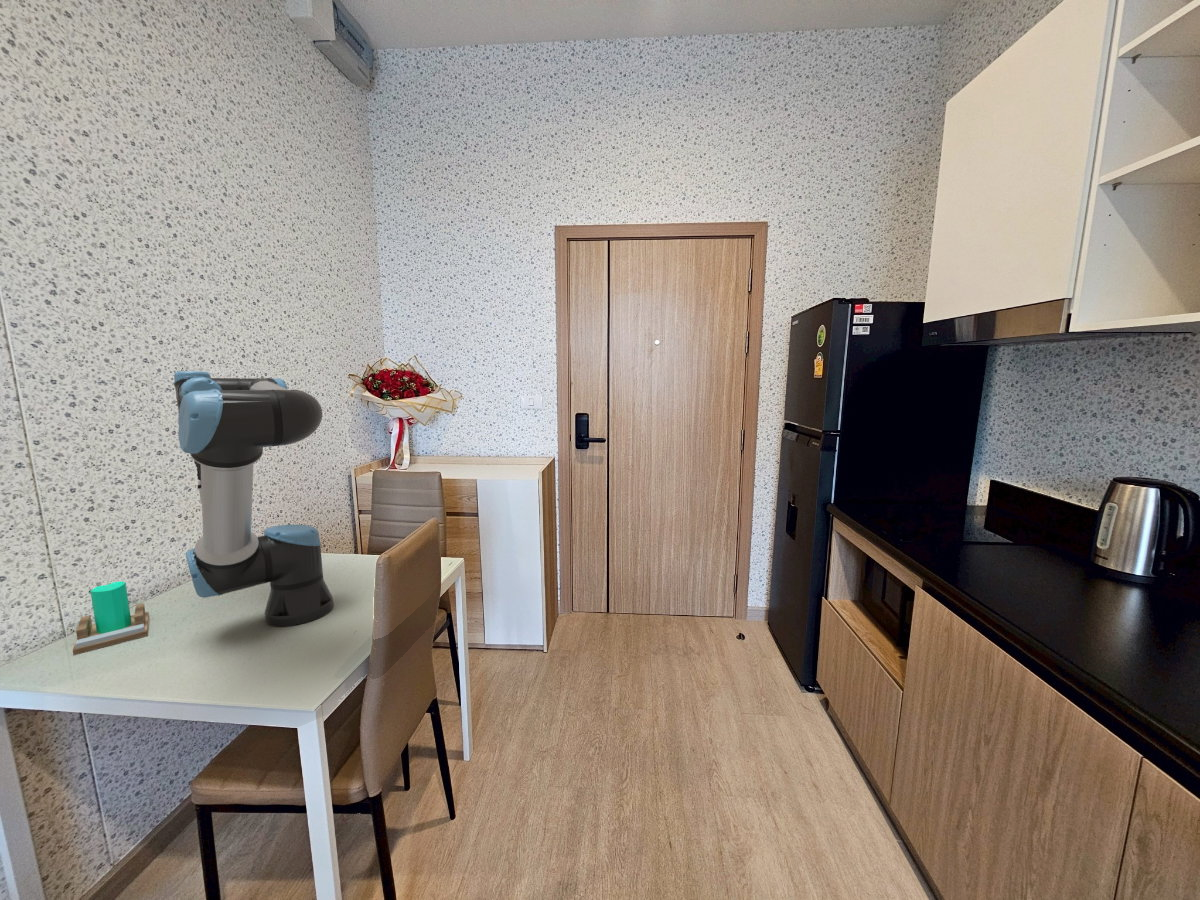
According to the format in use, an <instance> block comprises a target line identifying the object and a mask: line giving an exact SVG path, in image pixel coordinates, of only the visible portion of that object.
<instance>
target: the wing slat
mask: <svg viewBox="0 0 1200 900" xmlns="http://www.w3.org/2000/svg"><path fill="white" fill-rule="evenodd" d="M143 631H144V624H140V625H136V626H132V627H128V628H124V629H120V630H116V631H111V632H107V633H103V634H99V635H95V636H91V637H87V638H83V639H79V640H77V639H76V640H77V642H76V641H75V642H76V648H80V647H84V646H88V645H92V644H95V643H99V642H103V641H107V640H111V639H115V638H119V637H123V636H127V635H131V634H135V633H139V632H143Z"/></svg>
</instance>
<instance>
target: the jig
mask: <svg viewBox="0 0 1200 900" xmlns="http://www.w3.org/2000/svg"><path fill="white" fill-rule="evenodd" d="M131 622H132V623H131V625H129V626H128V627H132V626H136V625H140V624H144V631H143V632H139V633H135V634H131V635H127V636H123V637H119V638H115V639H111V640H107V641H103V642H99V643H95V644H92V645H88V646H84V647H80V648H76V642H77V640H79V639H83V638H87V637H91V636H95V635H99V634H100V633H97V630H96V624H95V623H93V624H92V616H91V615H86V616H82V617H81V618H80V620H79V622H78V625H77V627H76V630H75V632H76V640H75V642H74V645H73V647H72V654H73V656H75V655H78V654H83V653H88V652H92V651H95V650H98V649H102V648H106V647H110V646H113V645H117V644H122V643H126V642H130V641H133V640H138V639H141V638H144V637H148V634H149V633H148V632H149V622H150V614H149V611H146V607H145V603H144V602H143V603H138V604H135V610H134V614H132V615H131ZM128 627H126V628H128ZM102 634H103V633H102Z"/></svg>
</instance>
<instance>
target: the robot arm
mask: <svg viewBox="0 0 1200 900" xmlns="http://www.w3.org/2000/svg"><path fill="white" fill-rule="evenodd" d="M173 379H174V383H173V386H174V390H175V397H176V402H177V408H178V409H177V410H178V415H177V416H178V417H177V418H178V419H177V421H178V431H177V432H178V433H177V434H178V441H179V446H180V449H181V450H182V452H184V453H185V454H189V455H190V456H191V458H192V460H193V461H194V464H195V465H194V466H195V467H196V473H197V474H196V477H197V480H198V481H197V489H198V492H199V493H198V494H199V500H200V501H199V502H200V504H201V512H202V515H201V517H202V536H201V537H199V539H198V540H197V541H196V543H195V544H194V548H192V549H189V550H187V551H186V552H185V557H186V561H187V567H188V570H189V573H190V576H191V580H192V583H193V587H194V591H195V593H196V595H197V596H198V597H200V598H203V599H204V598H205V599H206V598H211V597H215V596H216V597H217V596H218V597H219V596H223V595H225V594H229V593H232V592H237V591H241V590H244V589H245V590H246V589H248V588H251V587H252V588H253V587H256V586H260V585H264V584H268V583H269V585H270V592H269V596H268V600H267V603H266V606H265V609H264V619H265V620H264V621H265V623H266V624H267V625H270V626H271V627H273V626H274V627H291V626H296V625H301V624H305V623H309V622H312V621H316V619H320V618H321V617H323V616H326V615H327V614H329V612H331V610H332V609H333V608H334V598H333V595H332V593H331V592H330V589H329V587H328V586H327V583H326V581H325V579H324V572H323V571H324V569H323V560H322V549H321V545H322V542H321V539H320V538H321V537H320V534H319V531H318V529H317V528H315V527H314V526H310V525H306V524H281V525H274V526H272V527H267V528H266V529H265V530H264V532H263V535H262V536H257V535H256V534H255V533H254V532H253V531H252V521H253V518H252V517H253V516H252V514H253V487H254V486H253V485H254V483H253V482H254V464H255V463H257V462H258V461H259V460H260V459H261V458H262V456H263V452H264V448H269V447H280V446H281V447H282V446H288V445H291V444H297V443H298V442H301V441H303V440H305V439H306V438H308V437H310V436H312V434H314V433H315V432H316V431H317V430H318V428H319V427H320V426H321V425H320V424H321V423H322V419H323V409H322V406H321V404H320V402H319V401H318V400H317V398H315V397H314V396H313V395H311V394H310V393H307V392H305V391H303V390H299V389H289V388H288V385H287V384H286V381H285V380H284V379H282V378H274V377H273V378H272V377H264V378H262V377H261V378H256V377H255V378H252V377H251V378H249V377H248V378H244V377H243V378H237V377H227V378H226V377H212V376H211V373H210V372H208V371H199V370H192V371H191V370H183V371H182V370H181V371H175V372H174V374H173Z"/></svg>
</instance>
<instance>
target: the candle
mask: <svg viewBox="0 0 1200 900" xmlns="http://www.w3.org/2000/svg"><path fill="white" fill-rule="evenodd" d="M106 583H107V584H104V585H97V586H96V587H94V588H92V589H90V597H91V603H92V610H93V618H94V621H95V622H94V624H96V630H97V633H100V634H102V633H107V632H111V631H116V630H120V629H124V628H126V627H128V626H129V625H131V623H132V622H131V616H132V615H131V611H130V602H129V596H128V589H127V582H125V581H122V580H121V581H120V580H119V581H114V582H113V581H112V582H111V583H109V580H106Z"/></svg>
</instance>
